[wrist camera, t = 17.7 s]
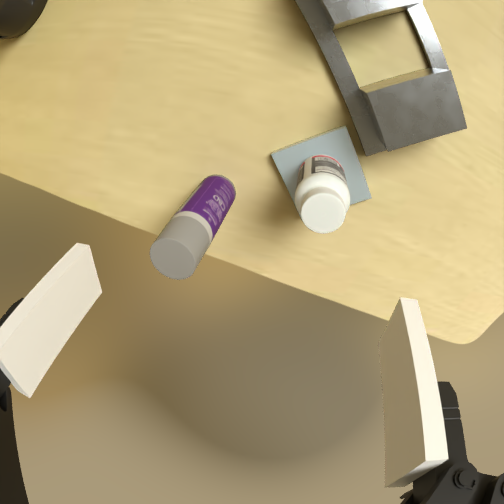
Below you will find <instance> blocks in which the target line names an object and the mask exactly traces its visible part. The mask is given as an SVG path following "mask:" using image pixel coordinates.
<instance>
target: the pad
mask: <svg viewBox="0 0 504 504" xmlns="http://www.w3.org/2000/svg"><path fill="white" fill-rule="evenodd" d="M317 154H325V155H329V156H331V157H333V158H335V159H336V160H337V161H338V162H339V163H340V164H341V165H342V167H343V170H344V173H345V176H346V180H347V185H348V188H349V192H350V205H351V204H354V203H357V202H360V201H364V200H367V199H370V198H371V194H370V191H369V188H368V185H367V182H366V179H365V177H364V174H363V171H362V168H361V165H360V162H359V160H358V157H357V154H356V151H355V149H354V146H353V143H352V141H351V138H350V136H349V133H348V131H347V128H346V126H345V125H344V126H341V127H338V128H335V129H333V130H330V131H327V132H324V133H321V134H319V135H316V136H313V137H310V138H308V139H305V140H302V141H300V142H297V143H294V144H292V145H289V146H287V147H284V148H281V149H279V150H276V151H274V152H272V154H271V155H272V158H273V160H274V162H275V164H276V166H277V168H278V170H279V172H280V174H281V176H282V178H283V181H284V183H285V185H286V187H287V189H288V191H289V193H290V196H291V198H292V200H293V202H294V204H295V191H296V185H297V177H298V172H299V168H300V166H301V164H302V163H303V162H304V161H305V160H306V159H307V158H309V157H310V156H313V155H317ZM295 207H296V205H295ZM296 209H297V208H296ZM298 213H299V212H298ZM299 215H300V214H299ZM300 218H301V215H300ZM301 220H302V218H301Z"/></svg>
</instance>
